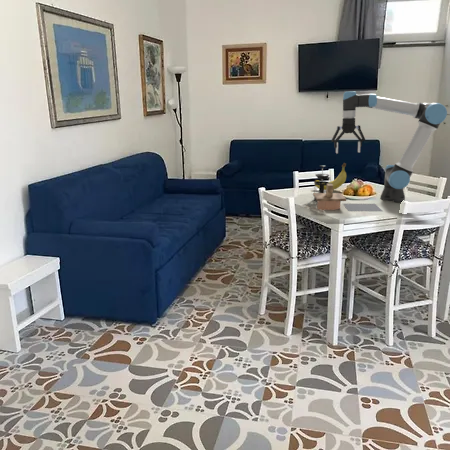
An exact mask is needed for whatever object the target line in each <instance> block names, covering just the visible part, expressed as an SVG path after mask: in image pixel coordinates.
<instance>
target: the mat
mask: <svg viewBox="0 0 450 450" xmlns="http://www.w3.org/2000/svg"><path fill="white" fill-rule="evenodd" d="M342 205H343V206H344V207H345V209H346V210H347V212H383V210H382V209H381V208H380V207H379V206H378V205H377V204H376V203H342Z"/></svg>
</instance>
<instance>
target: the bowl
mask: <svg viewBox="0 0 450 450" xmlns="http://www.w3.org/2000/svg"><path fill="white" fill-rule="evenodd" d="M316 202H317V204H316V208H317V209H318V210H319V211H326V210H327V211H328V210H329V211H333V210H334V211H335V210H339V209H341V202H342V201H316Z"/></svg>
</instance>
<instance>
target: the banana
mask: <svg viewBox="0 0 450 450" xmlns="http://www.w3.org/2000/svg"><path fill="white" fill-rule="evenodd" d="M341 167H342V168H341V172H339V174H338V176H337V177H336V178H335V179H334V180H332V181H330V182H331V183H332V185H333V191H334V190H337V189H339V188H340V187H341V186H342V185H344V183H345V182H346V180H347V172H346V170H345V167H347V163H345V162H343V164H342V165H341ZM316 181H319V179H315V180H314V181H313V184H314V187H315V188H317V189H319V188H320V185H315V182H316ZM331 183H329V184H331ZM326 186H327V185H324V190H326Z"/></svg>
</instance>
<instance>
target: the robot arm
mask: <svg viewBox="0 0 450 450" xmlns="http://www.w3.org/2000/svg"><path fill="white" fill-rule="evenodd" d="M356 108H368V109H374V110H375V109H376V110H380V111H385V112H388V113H389V112H391V113H395V114H401V115H405V116H412V118H414V119H417V120H418V122H417V123H418V126H417V128H416V130H415V131H414V134H413V136H412V137H411V139H410V142H409V143H408V145H407V146H406V149H404V152H403V154H402V155H401V158H400V159H399V160H398V162H395V163H394V164H387V165H386V166H385V168H384V169H385V173H384V186H383V190H382V191H381V195H380V200H383V201H385V202H386V201H387V202H394V203H402V202H401V201H403V200H406V196H405V195H406V194H405V191H404V188H406V187H407V186H409V183H410V182H411V181H410V180H411V177H412V175H413V173H414V169H413V168H414V166H415V164H416V163H417V160H418V159H419V157H420V156H421V154H422V152H423V150H424V148H425V146H426V145H427V143H428V141H429V139H430V138H431V135H432V134H433V132H434V131H437V130H438V129H439V127H440V125H441V124H442V123H443V122H444V121H445V120H446V119H447V116H448V110H447V107H446V106H445V105H444V104H442V103H440V102H419V101H418V102H409V101H405V100H399V99H393V98H388V97H382V96H377V94H376V93H362V94H359V93H357V91H353V90H352V91H344V92H343V97H342V123H341V124H342V125H341V126H340V125H338V126H336V130H335V132H334V135H333V137H332V138H331V142H332V143H333V145H334V149H335V153H336V154H339V140H340V139H341V138H342V137H343V135H345V134H353V135H354V137H356V139H357V140H358V141H357V153H361V147H362V146H363V141H366V138H365V136H364V133H363V130H362V127H361V125H360V124H359V125H356V118H355V117H356V113H357V112H356ZM340 130H342V131H341V132H340ZM356 130H357V131H358V133H359V134H358V133H357V132H356ZM339 132H340V133H339ZM338 134H339V135H338ZM403 202H404V201H403Z"/></svg>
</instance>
